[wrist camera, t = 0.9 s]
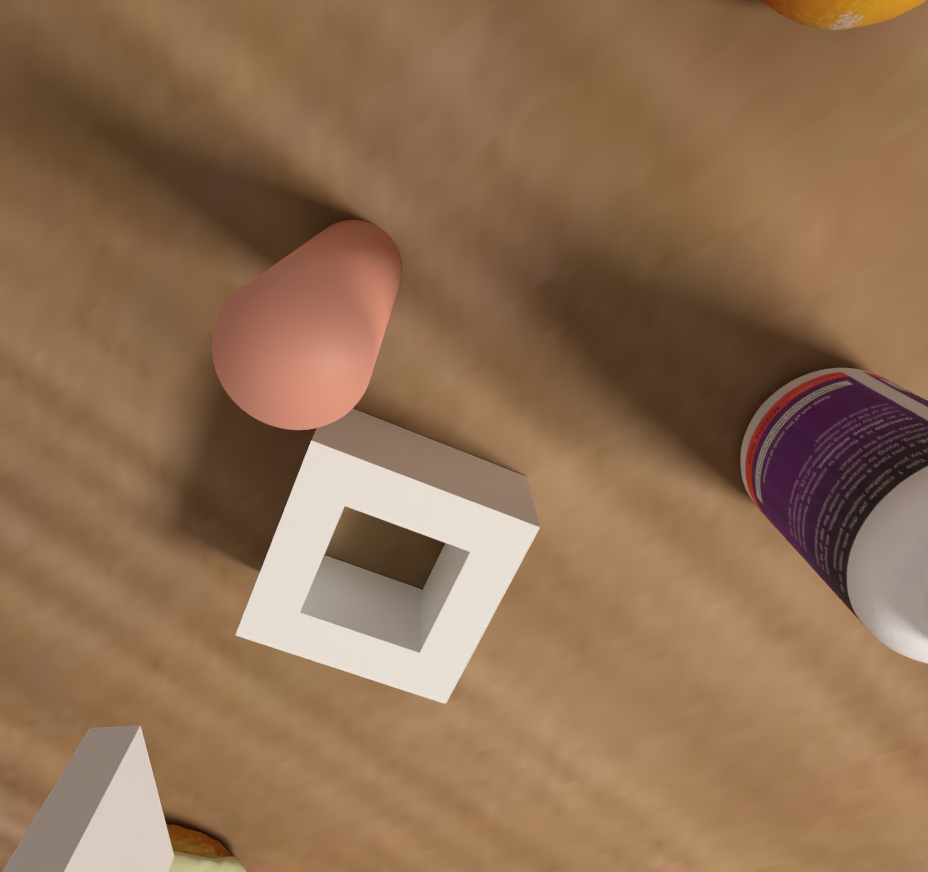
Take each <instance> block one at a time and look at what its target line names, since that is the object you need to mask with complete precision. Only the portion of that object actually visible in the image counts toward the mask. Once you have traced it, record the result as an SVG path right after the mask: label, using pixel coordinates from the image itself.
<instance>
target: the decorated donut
mask: <svg viewBox="0 0 928 872" xmlns="http://www.w3.org/2000/svg"><path fill="white" fill-rule="evenodd" d="M166 826H167V830H168V834H169V838H170V841H171V845H172V849H173V853H174V858H173V861H172V864H171V866H170V869H169V871H168V872H246V869H245V868H244V866H243V865H242V863H241V862H240V860H239V859H238V858H236V857H233V856H232V855H231V854H230V853H229V852H228V851H227V850H226V848H225V847H224V846H223V845H222V843H220V841H218V840H215V839H212V838H211V837H209V836H208V835H206V834H204V833H202V832H198V831H195V830H191V829H186V828H184V827H181V826H178V825H175V824H171V825H169V824H166Z"/></svg>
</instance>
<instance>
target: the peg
mask: <svg viewBox="0 0 928 872" xmlns="http://www.w3.org/2000/svg"><path fill="white" fill-rule="evenodd" d="M401 277H402V262H401V257H400V254H399V251H398V249H397V247H396V245H395V243H394V242H393V240H392V239H391V238H390V237H389V235H388V234H387V233H386V232H384V231H383V230H382V229H381V228H379V227H378V226H376V225H374V224H372V223H369V222H366V221H362V220H344V221H340V222H337V223H334V224H332V225H330V226H329V227H327V228H326V229H324V230H323V231H322V232H320V233H319V234H317V235H316V236H314V237H313V238H312V239H310V240H309V241H307V242H306V243H305V244H303V245H302V246H300V247H299V248H298V249H296V250H295V251H293V252H292V253H290V254H289V255H288V256H286V257H285V258H283V259H282V260H281V261H279V262H278V263H276V264H275V265H273V266H272V267H271V268H269V269H268V270H266V271H265V272H264V273H262V274H261V275H259V276H258V277H256V278H255V279H254V280H252V281H251V282H249V283H248V284H247V285H245V286H244V287H242V288H241V289H240V290H238V291H237V292H236V293H235V294H234V295H233V296H232V297H230V299H229V300H228V301H227V302H226V304H225V305H224V306H223V308H222V310H221V311H220V313H219V315H218V317H217V320H216V322H215V325H214V329H213V333H212V343H211V347H212V358H213V364H214V367H215V370H216V374H217V376H218V378H219V380H220V382H221V384H222V386H223V388H224V389H225V391H226V392H227V394H228V395H229V396H230V397H231V399H232V400H233V401H234V402H235V403H236V404H237V405H238V406H239V407H240V408H241V409H242V410H244V411H245V412H246V413H248V414H249V415H251V416H252V417H254V418H256V419H257V420H259V421H261V422H264V423H266V424H268V425H271V426H275V427H278V428H283V429H289V430H308V429H314V428H319V427H322V426H325V425H328V424H330V423H332V422H335V421H337V420H338V419H340V418H341V417H343V416H345V415H346V414H347V413H348V412H349V411H350V410H352V409H353V408H354V406H355V405H356V404H357V403H358V402H359V400H360V399H361V397H362V396H363V395H364V393H365V391H366V389H367V387H368V384H369V381H370V378H371V375H372V372H373V368H374V365H375V362H376V359H377V356H378V352H379V349H380V346H381V343H382V339H383V336H384V333H385V330H386V327H387V323H388V320H389V317H390V314H391V311H392V307H393V304H394V301H395V298H396V295H397V291H398V288H399V285H400V282H401Z"/></svg>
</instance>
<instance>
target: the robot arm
mask: <svg viewBox="0 0 928 872" xmlns="http://www.w3.org/2000/svg"><path fill="white" fill-rule="evenodd" d="M173 858H174V853H173V849H172V845H171V841H170V838H169V834H168V830H167V826H166V822H165V818H164V814H163V811H162V807H161V803H160V799H159V795H158V791H157V787H156V784H155V780H154V776H153V772H152V768H151V764H150V761H149V757H148V753H147V749H146V745H145V741H144V737H143V734H142V730H141V726H120V727H100V728H89V730H88V731H87V733H86V735H85V736H84V738H83V740H82V741H81V743H80V745H79V746H78V748H77V749H76V751H75V753H74V754H73V756H72V758H71V759H70V761H69V763H68V764H67V766H66V768H65V769H64V771H63V773H62V774H61V776H60V777H59V779H58V781H57V782H56V784H55V786H54V787H53V789H52V791H51V792H50V794H49V796H48V797H47V799H46V800H45V802H44V804H43V805H42V807H41V809H40V810H39V812H38V814H37V815H36V817H35V819H34V820H33V822H32V824H31V825H30V827H29V828H28V830H27V832H26V833H25V835H24V837H23V838H22V840H21V842H20V843H19V845H18V847H17V848H16V850H15V852H14V853H13V855H12V856H11V858H10V860H9V861H8V863H7V865H6V866H5V868H4V870H3V871H2V872H168V871H169V869H170V866H171V864H172V861H173Z"/></svg>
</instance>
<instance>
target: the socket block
mask: <svg viewBox="0 0 928 872" xmlns="http://www.w3.org/2000/svg"><path fill="white" fill-rule="evenodd" d="M345 506H346V507H349V508H352V509H354V510H357V511H360V512H363V513H365V514H368V515H371V516H374V517H376V518H379V519H382V520H384V521H387V522H390V523H393V524H395V525H398V526H401V527H403V528H406V529H409V530H412V531H414V532H417V533H420V534H423V535H425V536H428V537H431V538H433V539H436V540H439V541H442V542H444V543H445V545H444V547H443V549H442V551H441V553H440V555H439V557H438V559H437V561H436V563H435V565H434V567H433V569H432V572H431V574H430V576H429V578H428V580H427V582H426V584H425V586H424V588H423V590H422V589H419V588H416V587H414V586H411V585H408V584H405V583H402V582H399V581H397V580H394V579H391V578H388V577H385V576H382V575H380V574H377V573H374V572H371V571H368V570H365V569H363V568H360V567H357V566H354V565H351V564H349V563H346V562H343V561H340V560H337V559H334V558H332V557H329V556H326V555H324V554H325V552H326V549H327V547H328V545H329V542H330V540H331V537H332V535H333V533H334V530H335V528H336V526H337V523H338V521H339V518H340V516H341V514H342V511H343V509H344V507H345ZM539 528H540V526H539V522H538V518H537V514H536V510H535V506H534V502H533V498H532V494H531V490H530V486H529V482H528V478H527V477H526V476H524V475H521V474H519V473H516V472H514V471H511V470H508V469H506V468H503V467H501V466H498V465H496V464H493V463H491V462H488V461H486V460H483V459H480V458H478V457H475V456H473V455H470V454H468V453H465V452H463V451H460V450H457V449H455V448H452V447H450V446H447V445H445V444H442V443H440V442H437V441H435V440H432V439H429V438H427V437H424V436H422V435H419V434H417V433H414V432H412V431H409V430H406V429H404V428H401V427H399V426H396V425H394V424H391V423H389V422H386V421H384V420H381V419H378V418H376V417H373V416H371V415H368V414H366V413H363V412H361V411H358V410H356V409H352V410H350V411H349V412H348V413H347V414H346V415H345V416H343V417H341V418H340V419H338V420H337V421H335V422H332V423H330V424H328V425H325V426H322V427H319V428H317V429H316V431H315V433H314V435H313V438H312V440H311V442H310V445H309V448H308V450H307V453H306V455H305V458H304V460H303V463H302V466H301V468H300V471H299V473H298V476H297V478H296V481H295V484H294V486H293V489H292V491H291V494H290V497H289V499H288V502H287V504H286V507H285V509H284V512H283V515H282V517H281V520H280V522H279V525H278V527H277V530H276V533H275V535H274V538H273V540H272V543H271V545H270V548H269V551H268V553H267V556H266V558H265V561H264V563H263V566H262V569H261V571H260V574H259V576H258V579H257V582H256V584H255V587H254V589H253V592H252V594H251V597H250V600H249V602H248V605H247V607H246V610H245V612H244V615H243V618H242V620H241V623H240V625H239V628H238V630H237V633H236V636H239V637H242V638H245V639H248V640H251V641H254V642H257V643H260V644H264V645H267V646H270V647H273V648H276V649H279V650H282V651H285V652H288V653H291V654H294V655H297V656H300V657H303V658H306V659H309V660H313V661H316V662H319V663H322V664H325V665H328V666H331V667H334V668H337V669H340V670H343V671H346V672H349V673H352V674H355V675H358V676H361V677H365V678H368V679H371V680H374V681H377V682H380V683H383V684H386V685H389V686H392V687H395V688H398V689H401V690H404V691H407V692H410V693H414V694H417V695H420V696H423V697H426V698H429V699H432V700H435V701H438V702H441V703H444V704H446V703H447V701H448V699H449V697H450V695H451V693H452V691H453V690H454V688H455V686H456V684H457V682H458V680H459V678H460V676H461V675H462V673H463V671H464V669H465V667H466V665H467V663H468V661H469V660H470V658H471V656H472V654H473V652H474V650H475V648H476V646H477V645H478V643H479V641H480V639H481V637H482V635H483V633H484V631H485V630H486V628H487V626H488V624H489V622H490V620H491V618H492V616H493V615H494V613H495V611H496V609H497V607H498V605H499V603H500V601H501V600H502V598H503V596H504V594H505V592H506V590H507V588H508V586H509V585H510V583H511V581H512V579H513V577H514V575H515V573H516V571H517V570H518V568H519V566H520V564H521V562H522V560H523V558H524V556H525V554H526V553H527V551H528V549H529V547H530V545H531V543H532V541H533V539H534V538H535V536H536V534H537V532H538V530H539Z"/></svg>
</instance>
